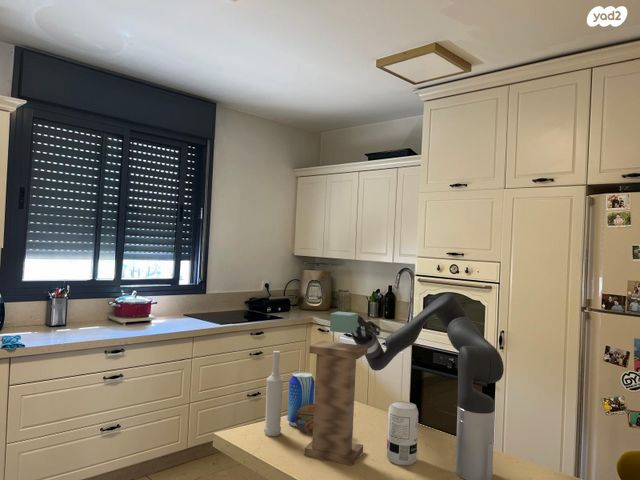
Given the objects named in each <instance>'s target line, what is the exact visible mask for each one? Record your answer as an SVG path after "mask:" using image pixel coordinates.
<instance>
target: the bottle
mask: <svg viewBox="0 0 640 480" xmlns="http://www.w3.org/2000/svg"><path fill="white" fill-rule="evenodd" d="M280 354H281V351H280V350H273V352H272V371H271V373H270V375H269V376H268V377H267V378H266V388H265V389H266V391H265V392H266V393H265V394H266V396H265V397H266V398H265V420H264V423H265V424H264V428H263V432H264V435H265V436H267V437H277V436H279V435H281V432H282V427H281V420H282V419H281V417H282V408H283V407H282V404H283V392H284V389H283V388H284V378H283V377H282V376H281V375H280V358H281V357H280V356H281V355H280Z"/></svg>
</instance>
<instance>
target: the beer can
mask: <svg viewBox="0 0 640 480" xmlns="http://www.w3.org/2000/svg"><path fill="white" fill-rule="evenodd" d="M314 397H315V379H314V377H313V374H312V373H310V372H306V371H296V372H293V373H292V375H291V377H290V378H289V381H288V397H287V400H288V401H287V415H286V419H287V422H288V423H289V425H290V426H292V427H295V426H296V428H298V427H297V425H296V422H295V415H296V412H297V411H298V409H299V408H300V407H301V406H303V405H305V404H314Z"/></svg>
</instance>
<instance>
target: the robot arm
mask: <svg viewBox="0 0 640 480" xmlns="http://www.w3.org/2000/svg"><path fill="white" fill-rule="evenodd" d="M433 316H436V317H437V319H438V320H439V321H440V323H441V325H442V326H443V327H445V328H446V335H447V338H448V340H449V342H450V344H451V346H452V347H453V348H454V349H455V350H456V351H458V354H457V410H456V411H457V413H456V414H457V415H456V416H457V418H456V436H455V437H456V441H455V443H456V444H455V463H454V465H455V467H454V471H455V474H456V475H457V476H458V477H460V478H461V479H464V480H493V473H494V472H493V469H494V467H493V465H494V436H495V435H494V433H495V432H494V431H495V409H496V407H495V405H496V404H495V400H494V398H492V397H491V396H489V395H488V394H485V393H483V392H481V391H478V390H477V389H475V388H474V386H473V385H474V384H473V383H483V384H494V383H497V382H499V381H500V380H501V379H502V378H503V375H504V372H505V367H504V366H505V365H504V361H503V359H502V356H501V354H500V352H499V350H498V349H497V348H496V347H495V346H494V345H492V343H490V342H489V341H488V340H487V339H486V338H485V337H484V335H483V334H482V333H481V332H480V330H479V328H478V326H476V324H475V323H474V322H473V321H472V320H471V319H469V317H468V315H467V313H466V310H465V308H464V307H463V306H462V305H461V303H460V302H459V300H458V299H457V297H456V296H455V295H454V293H445V294H442V295H441V296H439V297H438V298H435V300H433V301H432V302H431V303H430V304H428V305H427V306H426V307H425V308H423V309H422V310H421V311H420V312H418V314H416V316H414V317H413V318H411V320H409V322H407V323H406V324H404V325H403V326H401V327H400V328H398V329H397V330H395V331H394V332H392V333H390V334H389V335H388V336H386V337H385V339H384V341H385V351H384V349H383V347H382V344H381V343H380V341H379V338H378V336H380V335H381V329H382V328H381V326H379V325H377V324H376V323H374V322H373V321H370V320H369V321H366V319H365V318H364V317H363V316H362V315H360V314H359V315H358V320H357V322H358V324H359V325H360V326H359V327H357V330H356V331H354V332H352V333H350V335H351V337H352V339H353V341H354V343H355V345H363V346H368V353H367V354H365V355H364V357H365V358H366V361H367V364H368V365H369V367H370V369H371V370H372V371H381V370H384V369H386V367H387V366H388V365H389V364H390V363H391V361H392V360H394V358H395V357H396V356H398V354H400V353H401V352H403V351H404V350H406V349H407V348H409V347H411V346H412V345H413V344H414V343H415V342H416V341H417V340H418V338H419V335H420V334H421V332H422V330H423V328H424V326H425V324H426V323H427V321H428V320H429V319H430V318H431V317H433Z"/></svg>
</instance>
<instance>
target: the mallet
mask: <svg viewBox="0 0 640 480" xmlns="http://www.w3.org/2000/svg"><path fill="white" fill-rule="evenodd" d="M329 316H330V321H329V322H330V323H329V332H332V333H333V332H335V333H343V334H351V333H352V332H354V331H356V330H357V327H359V326H360V325H359V324H358V322H357V320H358V312H357V313H356V312H348V311H334V312H331V313H330V315H329Z"/></svg>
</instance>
